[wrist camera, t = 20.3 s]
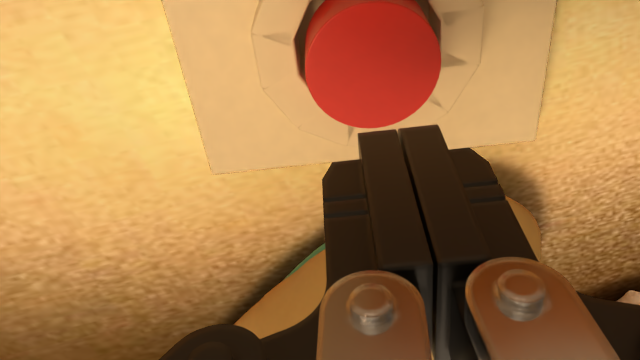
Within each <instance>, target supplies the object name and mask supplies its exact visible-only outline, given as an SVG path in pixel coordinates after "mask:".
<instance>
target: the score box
mask: <svg viewBox="0 0 640 360" xmlns="http://www.w3.org/2000/svg"><path fill="white" fill-rule="evenodd" d="M324 1H325V0H162V4H163V7H164V11H165V14H166V17H167V21H168V24H169V28H170V31H171V35H172V38H173V42H174V45H175V48H176V52H177V55H178V59H179V62H180V66H181V69H182V73H183V76H184V79H185V83H186V86H187V90H188V93H189V97H190V100H191V104H192V107H193V110H194V114H195V117H196V121H197V124H198V128H199V131H200V135H201V138H202V141H203V145H204V148H205V152H206V155H207V159H208V162H209V166H210V169H211V172H212V174H213V175H217V174H226V173H235V172H245V171H254V170H264V169H273V168H283V167H292V166H302V165H311V164H321V163H330V162H338V161H348V160H357V159H359V149H358V135H357V134H358V133H363V132H372V131H382V130H391V129H396V131H397V134H398V129H399V128H408V127H417V126H426V125H435V124H437V125H438V126H439V127H440V130H441V132H442V135H443V137H444V140H445V142H446V144H447V147H448V149H459V148H468V147H469V148H472V147H481V146H491V145H500V144H510V143H519V142H528V141H535V140H536V136H537V129H538V122H539V116H540V109H541V103H542V96H543V90H544V83H545V76H546V70H547V63H548V57H549V50H550V43H551V37H552V30H553V24H554V17H555V10H556V4H557V0H415V1H416V2H417V3H418V5H419V6H420V7H421V9H422V11H423V13H424V14H425V16H426V18H427V20H428V22H429V24H430V25H431V27H432V29H433V31H434V33H435V35H436V37H437V39H438V42H439V45H440V50H441V70H440V75H439V79H438V81H437V84H436V86H435V88H434V90H433V92H432V94H431V95H430V97H429V98H428V100H427V101H426V102H425V103H424V104H423V105H422V106H421V107H420V108H419V109H418V110H417V111H416V112H415V113H413V114H412V115H410V116H409V117H408V118H406V119H404V120H402V121H400V122H398V123H395V124H393V125H389V126H386V127H380V128H369V129H368V128H357V127H352V126H349V125H345V124H343V123H341V122H338V121H336V120H335V119H333V118H331V117H330V116H329V115H327V114H326V113H325V112H324V111H323V110H322V109H321V108H320V107H319V106H318V105H317V103H316V102H315V101H314V99H313V97H312V95H311V94H310V91H309V89H308V86H307V82H306V77H305V39H306V33H307V29H308V26H309V23H310V21H311V19H312V17H313V15H314V13H315V12H316V10H317V9H318V7H319V6H320V5H321V4H322V3H323V2H324Z"/></svg>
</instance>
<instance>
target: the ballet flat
mask: <svg viewBox="0 0 640 360" xmlns="http://www.w3.org/2000/svg"><path fill="white" fill-rule="evenodd" d="M505 198H506V200H508V202H509V204H510V206H511V208H512V210H513V212H514V214H515V216H516V218H517V220H518V222H519V224H520V226H521V228H522V230H523V232H524V234H525V236H526V238H527V240H528V242H529V244H530V246H531V248H532V250H533V252H534V254H535V256H536V258H537V260H538V261H539V262H540V259H541V233H540V229H539V226H538V224H537V222H536V220H535V218H534V216H533V215H532V214H531V213H530V211H528V210H527V209H526V208H525V207H524V206H522V205H521V204H519V203H518V202H516V201H514V200H513V199H511V198H509V197H507V196H505ZM326 282H327V278H326V254H325V243H324V244H322V245H321V246H320V247H318V248H317V249H316V250H314V251H313V252H312V253H311V254H310V255H309V256H308V257H306V258H305V259H304V260H303V261H302V262H301V263H300V264H299V265H298V266H297V267H296V268H295V269H294V270H293V271H292V272H291V273H290V274H289V275H287V276H286V277H285V279H284V280H283V281H282V282H281V283H279V284H278V285H277V286H275V287H274V288H273V289H271V290H270V291H269V292H268V293H267V294H266V295H265V296H264V297H263V298H262V299H261V300H260V301H259V302H257V303H256V304H255V305H254V306H253V307H252V308H251V309H249V310H248V311H247V312H246V313H245V314H244V315H243V316H242V317H241V318H240V319H239V320H238V321H237V322H236V323H235V324H234V325H237V326H241V327H244V328H246V329H248V330H250V331H251V332H253V333H254V334H255V335H256V336H257V337H258V338H259V339H261V338H264V337H266V336H269V335H272V334H274V333H277V332H279V331H282V330H285V329H287V328H289V327H291V326H294V325H296V324H297V323H299V322H301V321H302V320H304V319H305V318H306V317H307V316H309V315H310V314H311V313H312V312H313V311H314V310H315V309H316V308H317V306H318V305H319V303H320V302H321V300H322V298H323V296H324V293H325V289H326ZM431 356H432V360H434V359H433V354H432V355H431Z"/></svg>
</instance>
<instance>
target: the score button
mask: <svg viewBox="0 0 640 360" xmlns="http://www.w3.org/2000/svg"><path fill="white" fill-rule="evenodd" d="M440 70H441V50H440V45H439V42H438V39H437V37H436V35H435V33H434V31H433V29H432V27H431V25H430V24H429V22H428V20H427V18H426V16H425V14H424V13H423V11H422V9H421V7H420V6H419V5H418V3H417V2H416V1H415V0H325V1H324V2H323V3H322V4H321V5H320V6H319V7H318V9H317V10H316V12H315V13H314V15H313V17H312V19H311V21H310V23H309V26H308V29H307V33H306V39H305V77H306V82H307V86H308V89H309V91H310V94H311V95H312V97H313V99H314V101H315V102H316V103H317V105H318V106H319V107H320V108H321V109H322V110H323V111H324V112H325V113H326V114H327V115H329V116H330V117H331V118H333V119H335V120H336V121H338V122H341V123H343V124H345V125H349V126H352V127H357V128H368V129H369V128H380V127H386V126H389V125H393V124H395V123H398V122H400V121H402V120H404V119H406V118H408V117H409V116H410V115H412V114H413V113H415V112H416V111H417V110H418V109H419V108H420V107H421V106H422V105H423V104H424V103H425V102H426V101H427V100H428V98H429V97H430V95H431V94H432V92H433V90H434V88H435V86H436V84H437V81H438V79H439V75H440Z"/></svg>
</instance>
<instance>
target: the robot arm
mask: <svg viewBox="0 0 640 360" xmlns="http://www.w3.org/2000/svg"><path fill="white" fill-rule="evenodd" d="M357 135H358V149H359V159H357V160H348V161H338V162H332V164H331V166H330V167H329V169H328V171H327V173H326V174H325V176H324V178H323V179H322V185H323V208H324V231H325V254H326V278H327V282H326V289H325V293H324V296H323V298H322V300H321V302H320V303H319V305H318V306H317V308H316V309H315V310H314V311H313V312H312V313H311V314H310V315H309V316H307V317H306V318H305V319H304V320H302V321H301V322H299V323H297V324H296V325H294V326H291V327H289V328H287V329H285V330H282V331H279V332H277V333H274V334H272V335H269V336H266V337H264V338H261V339H259V338H258V337H257V336H256V335H255V334H254V333H253V332H251V331H250V330H248V329H246V328H244V327H241V326H237V325H231V324H217V325H212V326H208V327H205V328H202V329H199V330H197V331H195V332H193V333H191V334H189V335H187V336H186V337H184V338H183V339H181V340H180V341H179V342H178V343H177V344H175V345H174V346H173V347H172V348H171V349H170V350H169V351H168V352H167V353H166V354H165V355H164V356H163V357H162V358H161V359H159V360H432V356H431V355H432V354H433V359H434V360H640V305H636V304H630V303H623V302H617V301H611V300H604V299H600V298H595V297H591V296H588V295H584V294H581V293H579V292H577V291H575V290H574V288H573V287H572V285H571V284H570V283H569V281H568V280H567V279H566V278H565V277H564V276H563V275H561V274H560V273H559V272H557V271H556V270H555V269H553V268H551V267H549V266H547V265H545V264H543V263H540V262H539V261H538V260H537V258H536V256H535V254H534V252H533V250H532V248H531V246H530V244H529V242H528V240H527V238H526V236H525V234H524V232H523V230H522V228H521V226H520V224H519V222H518V220H517V218H516V216H515V214H514V212H513V210H512V208H511V206H510V204H509V202H508V200H506V198H505V194H504V192H503V190H502V188H501V186H500V184H498V180H497V178H496V176H495V174H494V172H493V170H492V168H491V166H490V164H489V162H488V161H486V160H485V159H484V158H482V157H481V156H480V155H478V154H477V153H476V152H474V151H473V150H472V149H470V148H469V147H468V148H459V149H448V147H447V144H446V142H445V140H444V137H443V135H442V132H441V130H440V127H439V126H438V125H437V124H435V125H426V126H417V127H408V128H399V129H398V134H397V131H396V129H391V130H382V131H372V132H363V133H358V134H357Z"/></svg>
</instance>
